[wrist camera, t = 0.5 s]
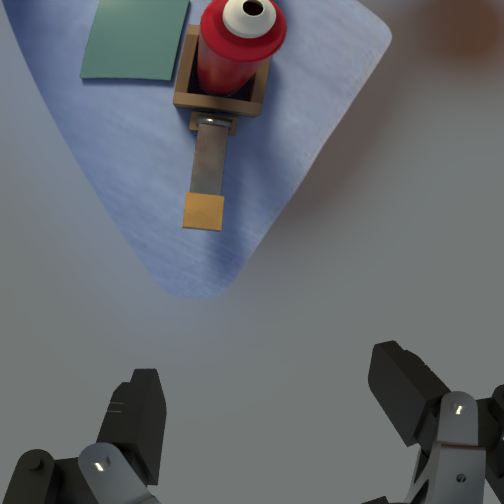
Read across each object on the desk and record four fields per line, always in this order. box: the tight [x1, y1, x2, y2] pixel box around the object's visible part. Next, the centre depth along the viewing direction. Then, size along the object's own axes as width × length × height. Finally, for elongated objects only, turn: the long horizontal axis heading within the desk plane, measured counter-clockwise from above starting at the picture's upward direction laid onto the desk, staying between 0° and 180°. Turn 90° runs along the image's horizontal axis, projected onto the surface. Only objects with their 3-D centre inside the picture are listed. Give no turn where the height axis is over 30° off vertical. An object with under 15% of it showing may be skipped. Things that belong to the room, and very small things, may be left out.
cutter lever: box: [182, 115, 232, 232], centre depth 30 cm, size 12×4×2 cm, turn 171°
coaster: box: [80, 0, 190, 81], centre depth 27 cm, size 11×11×1 cm
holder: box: [173, 24, 271, 135], centre depth 29 cm, size 9×12×4 cm
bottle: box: [197, 0, 287, 97], centre depth 22 cm, size 5×5×20 cm
